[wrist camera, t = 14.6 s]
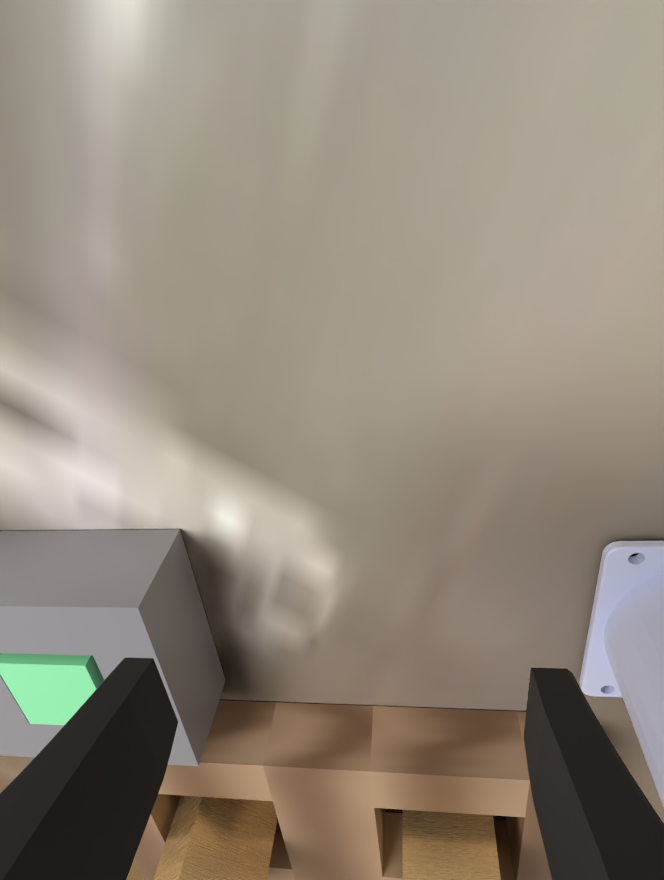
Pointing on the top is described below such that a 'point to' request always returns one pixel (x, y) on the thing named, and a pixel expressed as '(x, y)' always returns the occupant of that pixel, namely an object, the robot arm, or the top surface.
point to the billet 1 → (219, 840)
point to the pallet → (359, 783)
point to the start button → (50, 684)
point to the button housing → (108, 621)
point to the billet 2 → (449, 846)
